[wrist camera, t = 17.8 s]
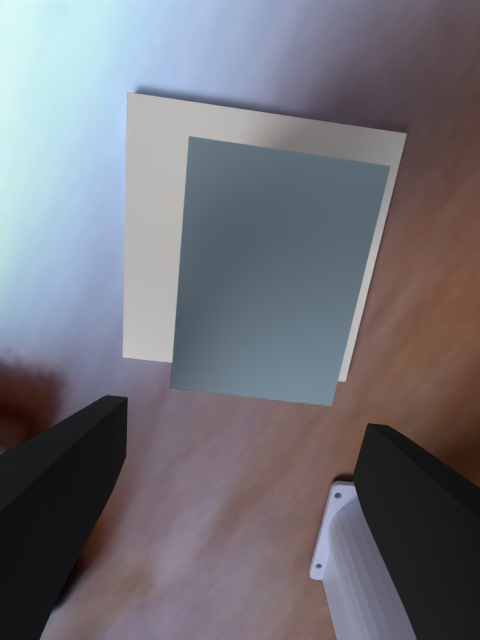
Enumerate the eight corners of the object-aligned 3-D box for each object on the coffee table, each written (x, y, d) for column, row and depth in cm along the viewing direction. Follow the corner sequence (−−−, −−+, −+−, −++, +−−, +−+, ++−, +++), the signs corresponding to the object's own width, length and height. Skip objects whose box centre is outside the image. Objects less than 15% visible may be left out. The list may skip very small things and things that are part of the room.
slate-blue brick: (297, 341, 13) (331, 405, 8) (195, 329, 13) (170, 388, 8) (326, 193, 11) (390, 165, 7) (209, 176, 11) (188, 135, 6)
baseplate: (342, 377, 20) (345, 381, 19) (126, 353, 19) (122, 357, 19) (400, 136, 16) (406, 133, 15) (131, 97, 15) (127, 92, 15)
